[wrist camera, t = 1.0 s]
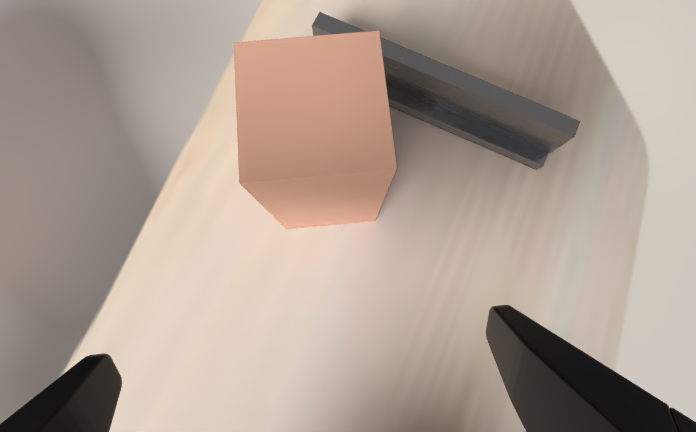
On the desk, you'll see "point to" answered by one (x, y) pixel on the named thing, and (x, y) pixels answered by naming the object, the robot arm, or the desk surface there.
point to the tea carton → (314, 127)
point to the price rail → (465, 103)
